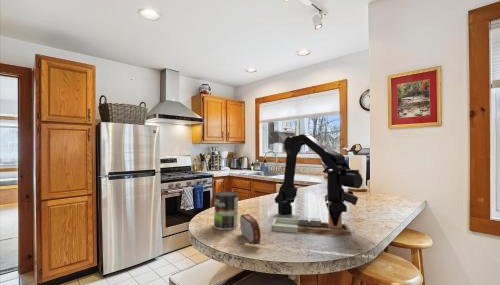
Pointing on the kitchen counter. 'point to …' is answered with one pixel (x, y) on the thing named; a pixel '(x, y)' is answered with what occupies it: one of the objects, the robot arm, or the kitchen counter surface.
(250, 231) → the grey and brown slab
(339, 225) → the rake block
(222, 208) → the coffee can
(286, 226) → the tray
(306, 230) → the channel board
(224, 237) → the kitchen counter surface
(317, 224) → the chip
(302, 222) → the chip
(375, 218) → the kitchen counter surface
